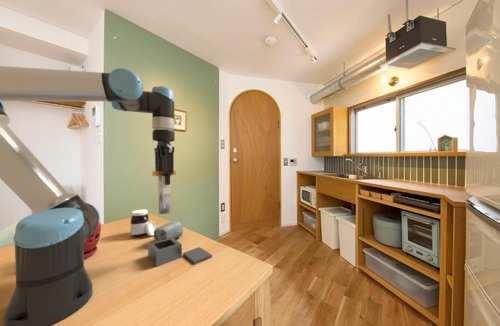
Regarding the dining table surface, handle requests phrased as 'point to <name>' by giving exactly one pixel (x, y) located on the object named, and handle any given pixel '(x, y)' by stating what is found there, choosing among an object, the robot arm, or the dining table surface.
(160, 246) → the block
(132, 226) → the spread jar
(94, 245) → the plant pot
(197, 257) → the rest mat
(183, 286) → the dining table surface
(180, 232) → the spool
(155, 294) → the dining table surface
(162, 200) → the chuck key
